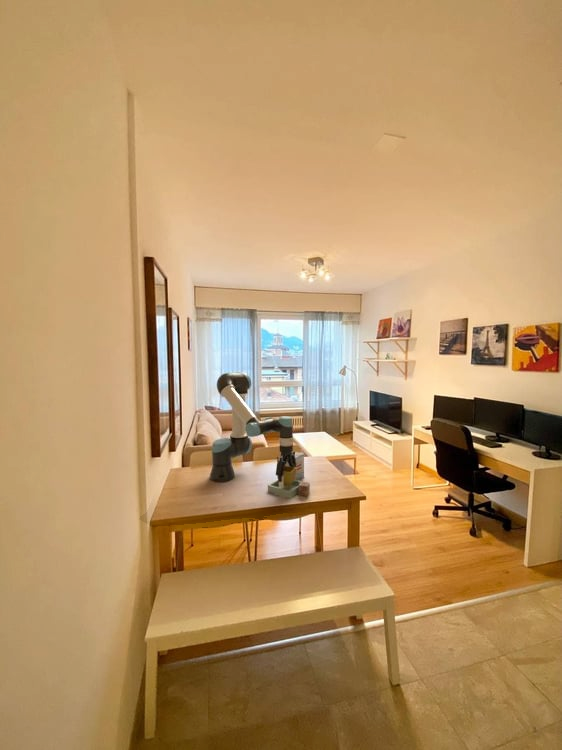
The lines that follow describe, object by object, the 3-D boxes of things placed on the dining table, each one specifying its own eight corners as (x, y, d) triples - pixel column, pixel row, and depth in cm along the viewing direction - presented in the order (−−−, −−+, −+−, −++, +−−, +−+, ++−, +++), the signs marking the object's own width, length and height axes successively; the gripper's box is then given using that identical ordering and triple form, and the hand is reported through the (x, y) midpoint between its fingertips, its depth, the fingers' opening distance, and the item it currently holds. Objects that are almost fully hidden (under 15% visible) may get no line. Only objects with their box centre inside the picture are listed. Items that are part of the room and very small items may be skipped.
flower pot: (276, 486, 168) (276, 470, 168) (282, 480, 176) (282, 465, 176) (291, 488, 165) (291, 472, 164) (296, 482, 173) (296, 466, 173)
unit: (281, 480, 184) (281, 456, 183) (293, 473, 194) (293, 451, 193) (293, 484, 179) (293, 459, 178) (305, 477, 189) (304, 453, 188)
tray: (267, 491, 170) (267, 485, 169) (283, 482, 181) (283, 476, 181) (289, 498, 161) (289, 492, 160) (305, 488, 172) (305, 482, 172)
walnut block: (298, 496, 163) (298, 485, 163) (300, 492, 168) (300, 481, 168) (307, 497, 162) (307, 486, 162) (309, 493, 167) (309, 482, 166)
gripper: (279, 450, 158) (280, 492, 160) (302, 441, 176) (303, 479, 177) (268, 448, 163) (268, 489, 164) (292, 439, 180) (292, 476, 182)
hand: (286, 483), depth 171 cm, fingers closed on flower pot, 9 cm apart
